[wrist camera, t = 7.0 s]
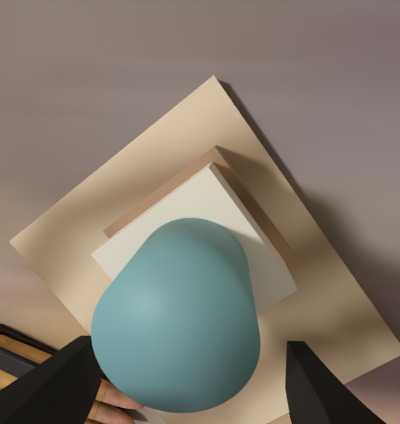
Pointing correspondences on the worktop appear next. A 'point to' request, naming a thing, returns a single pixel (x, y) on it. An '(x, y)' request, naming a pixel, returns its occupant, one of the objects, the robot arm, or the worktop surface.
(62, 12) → the worktop surface
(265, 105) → the worktop surface
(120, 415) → the ammunition clip
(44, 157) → the worktop surface
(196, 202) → the tower top
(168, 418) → the birch board
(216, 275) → the teal piece
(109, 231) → the tower base
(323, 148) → the worktop surface
